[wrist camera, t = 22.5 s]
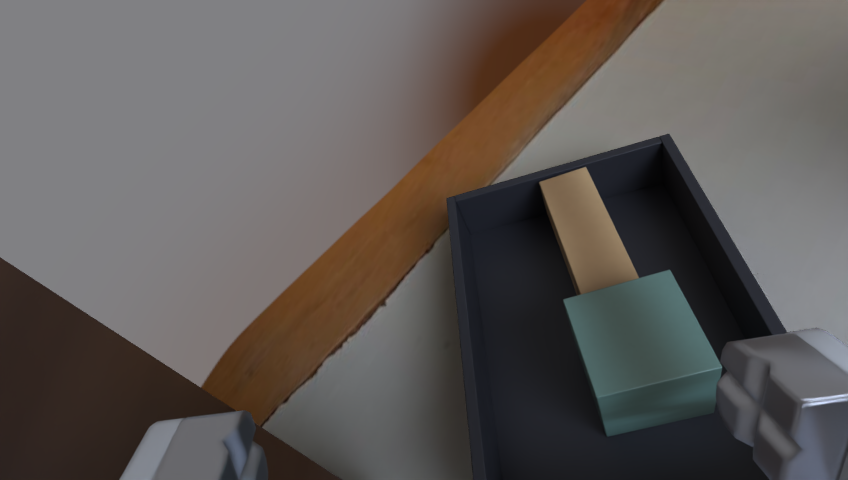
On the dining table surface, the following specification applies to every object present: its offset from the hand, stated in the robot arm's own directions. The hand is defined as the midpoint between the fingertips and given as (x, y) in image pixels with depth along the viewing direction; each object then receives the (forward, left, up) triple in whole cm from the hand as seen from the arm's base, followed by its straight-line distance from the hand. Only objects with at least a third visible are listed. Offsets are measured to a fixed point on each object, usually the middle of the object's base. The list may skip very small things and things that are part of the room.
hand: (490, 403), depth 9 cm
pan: (+3, +11, -19) cm, 22 cm away
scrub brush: (+4, +13, -18) cm, 23 cm away
